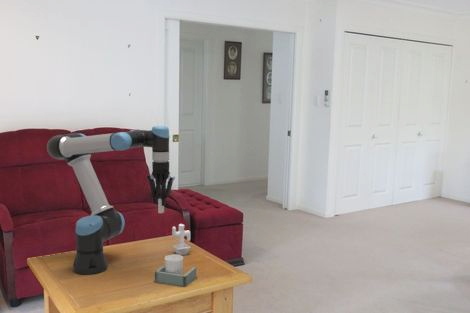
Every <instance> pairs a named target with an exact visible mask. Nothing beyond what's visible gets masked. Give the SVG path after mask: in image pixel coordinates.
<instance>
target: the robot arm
mask: <svg viewBox="0 0 470 313" xmlns="http://www.w3.org/2000/svg"><path fill="white" fill-rule="evenodd" d="M143 147H144V148H151V149H152V151H151V153H152V154H151V156H152V158H151V160H152V163H151V167H152V171H151V174H150V175H147V176H146V177H147V180H148V181H149V186H150V191H151V196H152V197H154V198H156V205H157V210H158V211H157V212H158V214H164V213H165V206H166V204H167V203H166V200H167V199H168V198H169V197H170V196H171V192H172V188H173V182H174V181H175V180H176V177H175V176H172V175H171V172H170V129H169V127H168V126H165V125H164V126H163V125H161V126H160V125H157V126H156V125H155V126H152V127H151V129H150V130H148V129H147V130H146V129H145V130H144V129H131V130H129V131H120V132H114V133H113V132H112V133H105V134H104V133H102V134H96V135H95V134H94V135H85V134H83V133H80V132H79V133H78V132H74V133H73V132H72V133H67V134H66V133H65V134H64V133H63V134H57V135H54V136H52V137H51V138H50V139H49V140H48V142H47V144H46V151H47V153H48V154H49V156H50V157H51V158H52V159H55V160H60V161H61V160H62V161H63V160H65V161H66V163H67V165H68V166H70V167H72V169H73V172H74V174H75V176H76V178H77V180H78V183H79V186H80V188H81V190H82V192H83V195H84V196H85V200H86V201H87V203H88V206H89V208H90V211H91V214H90V215H88V216H84V217H83V216H82V217H81V218H80V219H78V220H77V221H76V223H75V245H76V247H75V248H76V254H75V257H74V261H73V264H72V272H74V273H76V274H79V275H95V274H99V273H102V272H104V271H106V270H107V269H108V264H109V263H108V260H107V258H106V255H105V252H104V242H106V241H108V240H110V239H112V238H115V237H117V236H119V235H120V234H121V233H122V232H124V228H125V224H126V222H125V218H124V216H123V214H122V213H121V212H119V211H116V209H115V207H114V206H113V205H110V204H109V202H108V199H107V197H106V194H105V192H104V190H103V187H102V185H101V183H100V180H99V179H98V176H97V174H96V172H95V170H94V168H93V165H92V162H91V157H92V154H93V153H103V152H104V153H105V152H112V151H121V152H122V151H126V150H130V149H137V148H143ZM167 180H168V181H167Z"/></svg>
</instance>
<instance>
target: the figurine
mask: <svg viewBox="0 0 470 313" xmlns="http://www.w3.org/2000/svg"><path fill="white" fill-rule="evenodd" d="M171 230H172V231H171V232H172V233H171V234H172V237H173V238H174V239H175V238H178V244H173V245H172V247H173V250H174V252H175V254H176V255H181V256H184V255H185V256H186V255H188V254H189V251H190V250H191V248H192V247H191V246H190V245H188V244H187V243H185V237H186V240H187V241H188V242H190V241H191V230H185V224H183V223H179V224H178V231H177V228H176V226H172V228H171Z"/></svg>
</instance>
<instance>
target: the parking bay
mask: <svg viewBox="0 0 470 313" xmlns="http://www.w3.org/2000/svg"><path fill="white" fill-rule="evenodd" d="M196 278H197V267H195V266H193V267H191V269H190V270H188V271H187V272H186V273H184V274H182V275H180V274H173V273H167V272H166V271H165V264H163V266H160V267H159V268H158V269H157V270H155V271H154V283H159V284H166V285H172V286H177V287H184V288H186V287H187V286H188V285H190V283H191V282H193V281H194V280H195V279H196Z"/></svg>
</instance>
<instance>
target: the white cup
mask: <svg viewBox="0 0 470 313" xmlns="http://www.w3.org/2000/svg"><path fill="white" fill-rule="evenodd" d="M164 265H165V271H166V272H167V273H173V274H180V275H183V273H184V272H183V269H184V266H183V265H184V255H178V254H169V255H166V256H165V257H164Z"/></svg>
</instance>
